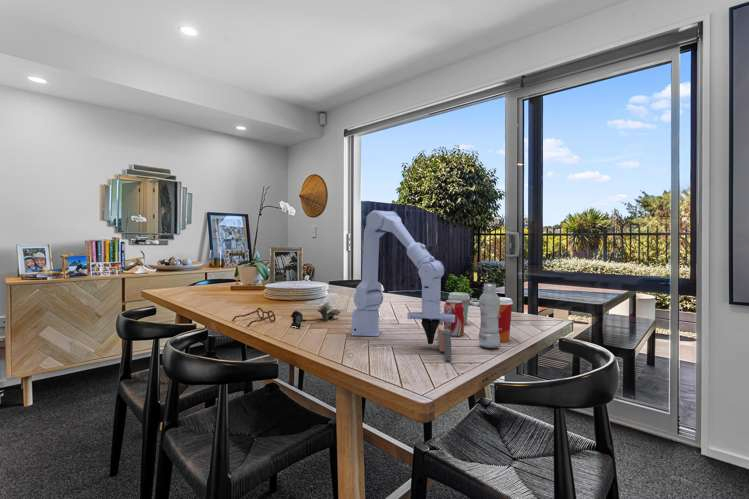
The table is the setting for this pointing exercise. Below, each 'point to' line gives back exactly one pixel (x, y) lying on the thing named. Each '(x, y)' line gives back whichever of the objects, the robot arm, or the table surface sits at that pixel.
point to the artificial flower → (298, 316)
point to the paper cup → (504, 318)
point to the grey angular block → (447, 344)
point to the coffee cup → (465, 299)
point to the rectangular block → (441, 338)
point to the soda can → (458, 310)
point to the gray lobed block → (437, 330)
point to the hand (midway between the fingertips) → (430, 343)
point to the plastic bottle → (489, 317)
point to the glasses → (258, 315)
